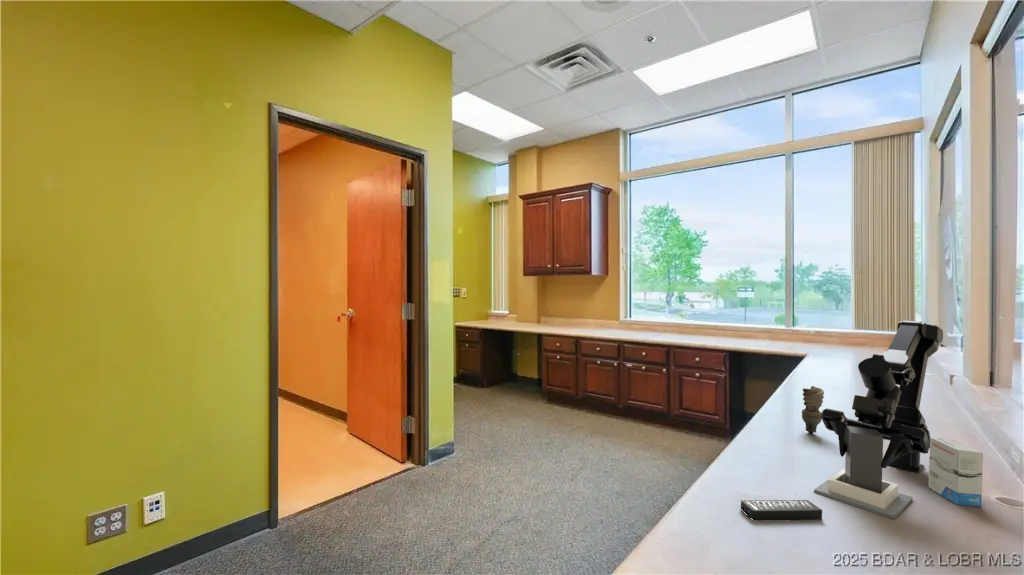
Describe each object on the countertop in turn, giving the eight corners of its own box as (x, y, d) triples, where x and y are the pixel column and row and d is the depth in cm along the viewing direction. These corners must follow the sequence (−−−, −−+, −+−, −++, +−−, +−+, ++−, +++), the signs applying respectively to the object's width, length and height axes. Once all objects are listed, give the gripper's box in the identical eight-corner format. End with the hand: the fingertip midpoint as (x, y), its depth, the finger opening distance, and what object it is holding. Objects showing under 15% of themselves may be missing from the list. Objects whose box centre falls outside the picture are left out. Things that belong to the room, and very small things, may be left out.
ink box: (982, 507, 94) (984, 452, 94) (955, 504, 95) (957, 450, 95) (951, 489, 103) (953, 438, 103) (927, 486, 104) (928, 436, 104)
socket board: (836, 476, 108) (836, 463, 108) (912, 499, 97) (912, 485, 97) (813, 491, 100) (814, 478, 100) (894, 519, 89) (894, 503, 89)
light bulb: (819, 432, 141) (821, 385, 141) (825, 438, 136) (826, 389, 136) (799, 430, 143) (800, 383, 143) (804, 435, 138) (805, 387, 138)
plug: (844, 481, 102) (846, 425, 102) (875, 487, 100) (876, 429, 99) (849, 491, 97) (851, 432, 97) (881, 497, 95) (883, 437, 95)
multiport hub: (823, 522, 88) (823, 510, 88) (752, 522, 87) (753, 511, 87) (806, 510, 92) (807, 499, 92) (739, 511, 91) (740, 500, 91)
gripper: (824, 374, 108) (803, 427, 102) (927, 391, 93) (909, 454, 87) (836, 402, 113) (817, 454, 106) (936, 422, 97) (920, 485, 91)
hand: (861, 461), depth 98 cm, fingers closed on plug, 7 cm apart
